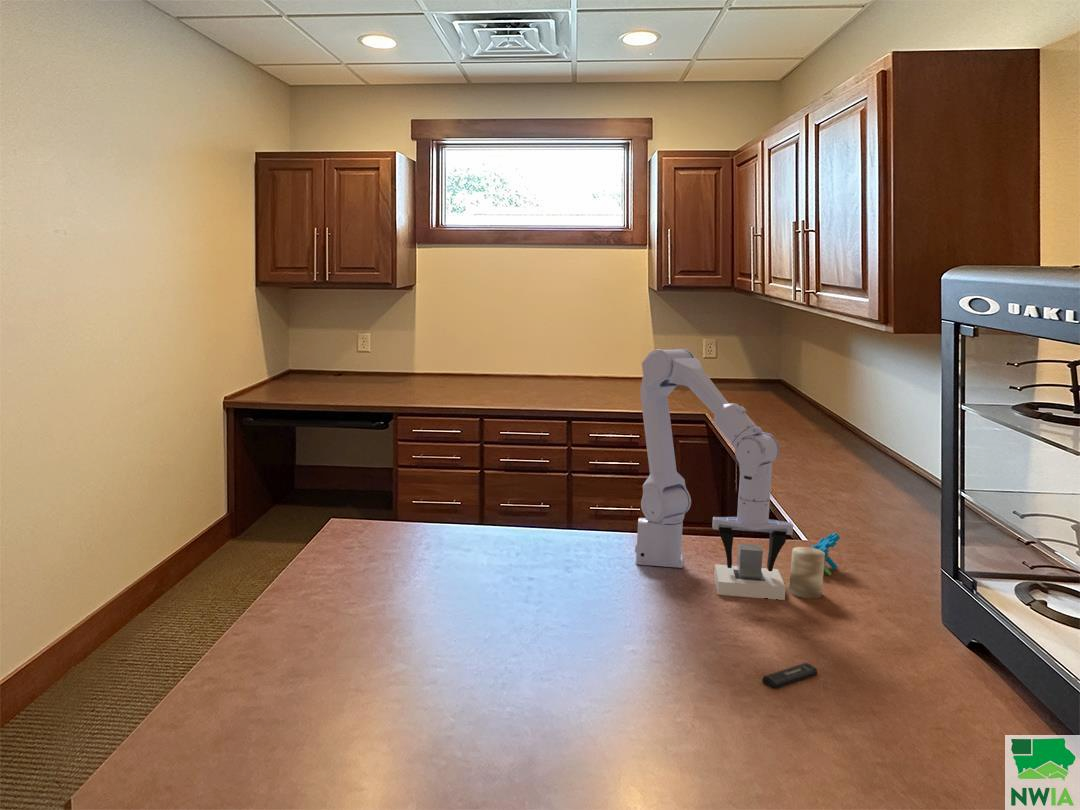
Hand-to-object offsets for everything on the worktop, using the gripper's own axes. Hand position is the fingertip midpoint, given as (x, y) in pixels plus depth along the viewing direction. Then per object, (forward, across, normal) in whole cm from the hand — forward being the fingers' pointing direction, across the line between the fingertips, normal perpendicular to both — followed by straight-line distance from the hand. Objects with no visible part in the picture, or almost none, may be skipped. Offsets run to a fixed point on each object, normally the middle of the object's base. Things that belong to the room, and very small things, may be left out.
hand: (749, 568), depth 148 cm
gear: (+4, +16, +16) cm, 23 cm away
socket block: (+4, 0, 0) cm, 4 cm away
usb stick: (+4, +2, -37) cm, 37 cm away
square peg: (+4, 0, 0) cm, 4 cm away
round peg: (+4, +10, 0) cm, 11 cm away
